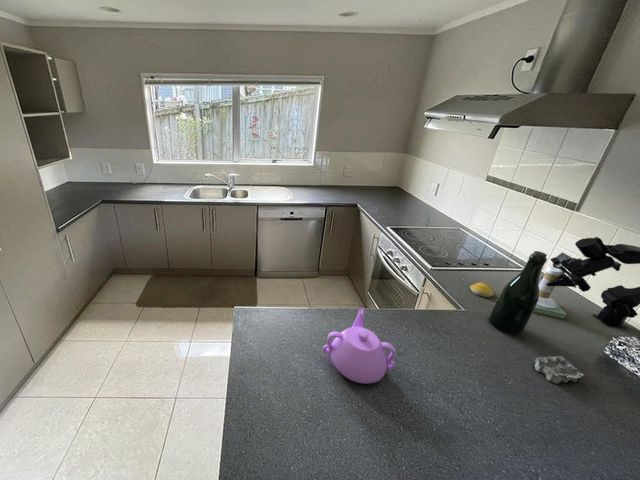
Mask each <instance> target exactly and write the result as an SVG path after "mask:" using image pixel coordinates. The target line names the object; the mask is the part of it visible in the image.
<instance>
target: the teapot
mask: <svg viewBox="0 0 640 480" xmlns="http://www.w3.org/2000/svg"><path fill="white" fill-rule="evenodd" d="M364 316H365V310H364V307H363V306H359V308H358V311H357V315H356V318H355V320H354V322H353V323H352V326H350V327H347V328H346V329H344V330H342V331H341V332H339V331H331V332H329V333H328V335H327V337H326V338H327V344H324V345H323V347H322V351H323V353H325V354H326V355H330V356H329V357H330V360H331V362H332V365H333V366H334V367H335V369H336V370H337V371H338V372H339V373H340V375H342V376H343V377H345V378H347V379H348V380H350V381H352V382H355V383H358V384H375V383H377V382H379V381H380V380H382V379H383V378H384V376H385V375H386V372H387V370H390V371H391V370H394V369H395V368H396V364H395V361H393V360H394V358H395V357H396V354H397V353H396V352H397V351H396V348H395V346H394V345H392V344H391V343H390V342H386V341H384V342H383V341H381V340H380V339H379V337H378V336H377V334H375V333H374V332H373V331H372V330H370V329H368V328H366V327H365V322H364V321H365V320H364ZM332 338H334V339H333V341H332ZM385 349H388V350H389V351H391V352H390V354H389V355H388V356H387V355H386V351H385Z"/></svg>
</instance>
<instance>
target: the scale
mask: <svg viewBox="0 0 640 480" xmlns="http://www.w3.org/2000/svg"><path fill="white" fill-rule="evenodd" d="M533 313H536V314H541V315H546V316H550V317H554V318H558V319H565V318H566V316H567V313H566V312H565V311H564V310H563V308H561V306H560V305H559V304H558V303H557V302H556V300H555V299H554V298H553V297H551V296H549V298H548V299H545V298H541V297H539V299H538V302H537V304H536V307H535V309H534V311H533Z"/></svg>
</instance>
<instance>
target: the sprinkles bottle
mask: <svg viewBox="0 0 640 480" xmlns="http://www.w3.org/2000/svg"><path fill="white" fill-rule="evenodd" d="M561 275H562V270H560V269H558V268H555V267H553V266H548V267H546V269H545V273H544V275H543V276H544V277H543V276H542V277H543V279H541V280H540V282H539V297H541V298H545V299H548V298H549V297H551V294H552V293H553V291H554V289H555V287H556V286H547V285H546V284H547V283H548V282H551V281H553V280H555V279H558V278H559V277H560V276H561Z"/></svg>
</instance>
